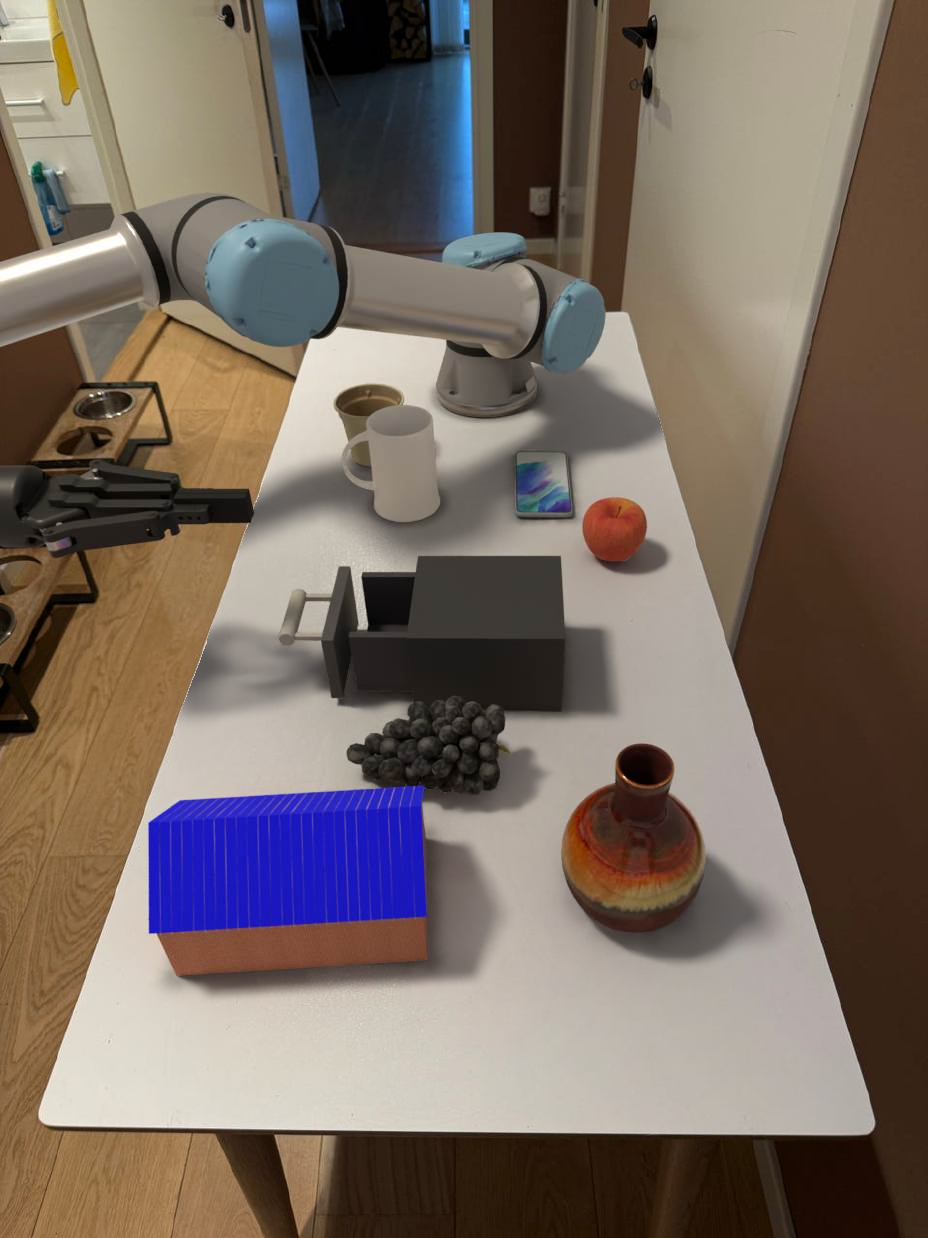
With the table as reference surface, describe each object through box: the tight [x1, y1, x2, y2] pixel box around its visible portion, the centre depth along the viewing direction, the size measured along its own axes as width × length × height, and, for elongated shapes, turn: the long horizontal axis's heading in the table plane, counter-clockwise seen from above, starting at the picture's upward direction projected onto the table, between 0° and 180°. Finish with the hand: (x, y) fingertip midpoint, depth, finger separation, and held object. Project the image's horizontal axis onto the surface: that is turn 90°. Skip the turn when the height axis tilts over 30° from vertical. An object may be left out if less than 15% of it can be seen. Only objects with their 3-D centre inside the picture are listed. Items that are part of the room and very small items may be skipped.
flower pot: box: [333, 382, 405, 468], centre depth 126 cm, size 9×9×9 cm
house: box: [147, 785, 429, 977], centre depth 71 cm, size 12×20×12 cm, turn 93°
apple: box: [581, 496, 648, 562], centre depth 107 cm, size 7×7×8 cm
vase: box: [560, 742, 707, 934], centre depth 70 cm, size 11×11×15 cm
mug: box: [341, 404, 441, 523], centre depth 115 cm, size 12×8×12 cm
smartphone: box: [513, 450, 574, 518], centre depth 121 cm, size 7×1×15 cm
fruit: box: [345, 696, 512, 796], centre depth 83 cm, size 9×8×15 cm
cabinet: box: [406, 555, 566, 712], centre depth 92 cm, size 15×13×10 cm
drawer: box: [278, 565, 416, 699], centre depth 93 cm, size 18×11×8 cm, turn 87°
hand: (249, 505), depth 84 cm, fingers closed
